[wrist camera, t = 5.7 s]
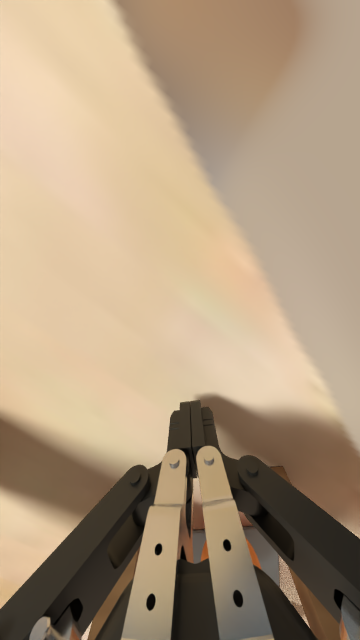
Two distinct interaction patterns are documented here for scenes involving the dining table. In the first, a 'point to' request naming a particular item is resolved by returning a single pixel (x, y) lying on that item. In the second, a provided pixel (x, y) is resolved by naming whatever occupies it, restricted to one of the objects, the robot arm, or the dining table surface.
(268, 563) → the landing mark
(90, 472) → the dining table surface
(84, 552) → the robot arm
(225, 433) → the dining table surface
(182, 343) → the dining table surface
